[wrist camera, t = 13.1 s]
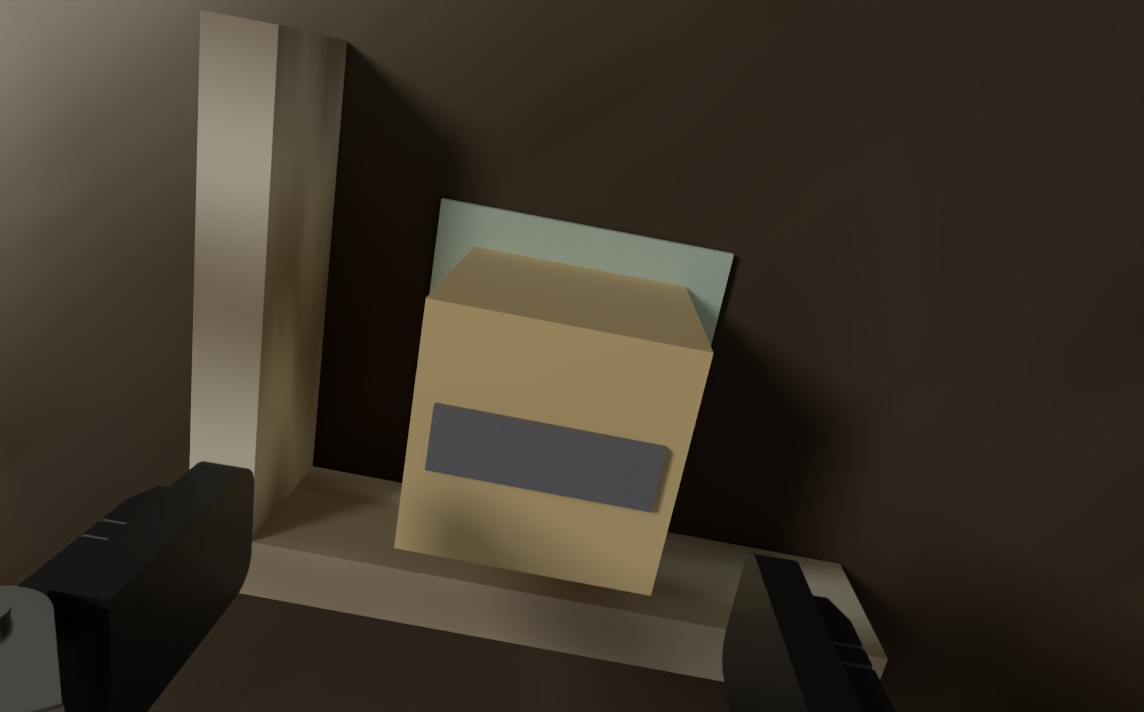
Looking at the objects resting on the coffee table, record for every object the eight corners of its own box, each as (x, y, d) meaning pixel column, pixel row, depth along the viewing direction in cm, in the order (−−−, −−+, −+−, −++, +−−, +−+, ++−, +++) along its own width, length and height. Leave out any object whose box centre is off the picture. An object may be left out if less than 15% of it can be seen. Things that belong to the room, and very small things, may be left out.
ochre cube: (685, 286, 20) (714, 356, 14) (640, 475, 21) (651, 602, 16) (474, 246, 20) (423, 300, 14) (446, 438, 21) (391, 553, 16)
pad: (668, 508, 22) (668, 512, 22) (409, 460, 22) (407, 463, 22) (732, 253, 19) (733, 254, 19) (443, 197, 19) (441, 199, 19)
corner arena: (825, 606, 23) (868, 708, 19) (258, 502, 22) (186, 583, 19) (977, 162, 19) (1072, 177, 15) (285, 29, 18) (200, 9, 14)
